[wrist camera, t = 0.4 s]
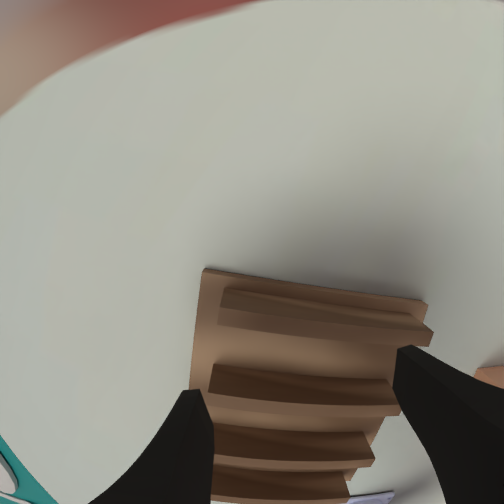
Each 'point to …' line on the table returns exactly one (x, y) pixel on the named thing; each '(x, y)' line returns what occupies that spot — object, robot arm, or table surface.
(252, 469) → the dish rack
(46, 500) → the place mat
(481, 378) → the orange-brown angular block
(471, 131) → the table surface
